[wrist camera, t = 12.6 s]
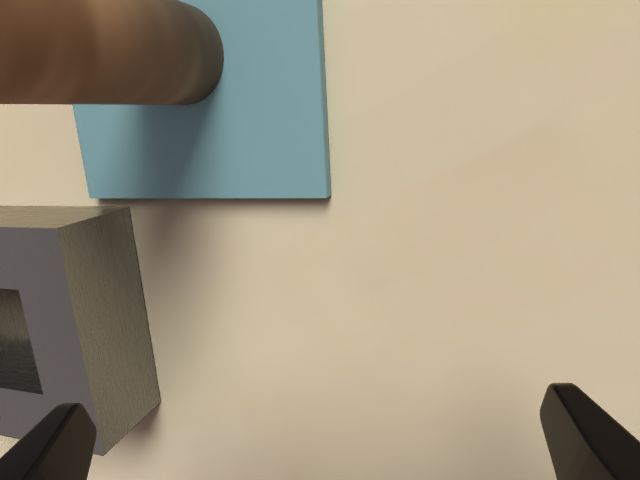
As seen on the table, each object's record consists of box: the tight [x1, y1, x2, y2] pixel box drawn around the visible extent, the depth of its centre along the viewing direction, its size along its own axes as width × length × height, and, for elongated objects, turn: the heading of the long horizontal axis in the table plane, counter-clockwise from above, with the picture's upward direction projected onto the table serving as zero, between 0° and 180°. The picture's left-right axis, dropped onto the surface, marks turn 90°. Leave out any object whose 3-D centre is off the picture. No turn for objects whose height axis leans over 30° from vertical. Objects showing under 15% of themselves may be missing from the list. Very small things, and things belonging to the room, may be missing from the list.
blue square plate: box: [72, 0, 331, 198], centre depth 18 cm, size 11×11×1 cm
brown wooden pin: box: [0, 0, 224, 105], centre depth 11 cm, size 4×4×14 cm
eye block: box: [0, 206, 160, 456], centre depth 22 cm, size 10×10×4 cm
